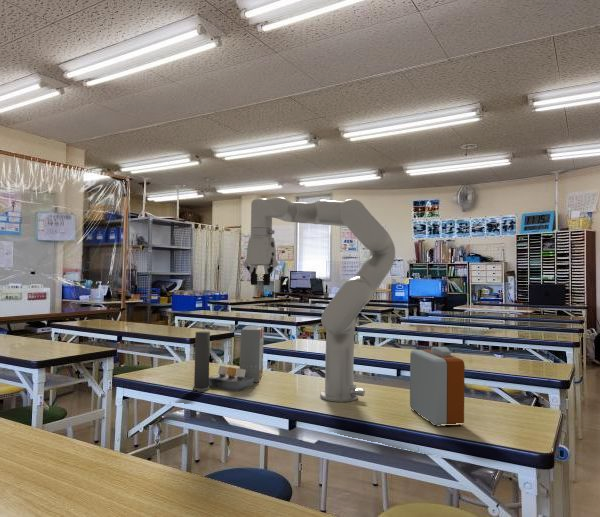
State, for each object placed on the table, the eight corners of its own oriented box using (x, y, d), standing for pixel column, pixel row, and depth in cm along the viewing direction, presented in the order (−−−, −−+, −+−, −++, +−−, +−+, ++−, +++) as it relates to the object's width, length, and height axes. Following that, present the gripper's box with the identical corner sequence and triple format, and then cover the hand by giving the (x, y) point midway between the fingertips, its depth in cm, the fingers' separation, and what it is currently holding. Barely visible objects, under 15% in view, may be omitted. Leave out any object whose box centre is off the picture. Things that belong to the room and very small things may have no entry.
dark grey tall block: (212, 388, 166) (214, 332, 166) (202, 391, 161) (203, 333, 161) (200, 386, 168) (201, 331, 169) (189, 389, 163) (191, 332, 164)
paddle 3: (226, 377, 173) (228, 367, 174) (221, 375, 170) (223, 366, 171) (222, 376, 173) (224, 367, 174) (217, 375, 171) (219, 365, 172)
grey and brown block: (465, 427, 128) (465, 352, 129) (435, 428, 127) (436, 352, 128) (435, 407, 147) (435, 342, 147) (408, 408, 145) (409, 342, 146)
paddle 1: (243, 379, 169) (245, 370, 170) (239, 378, 166) (241, 368, 167) (239, 379, 170) (241, 369, 171) (235, 378, 167) (237, 368, 168)
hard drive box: (259, 383, 175) (260, 330, 176) (238, 382, 176) (240, 329, 176) (263, 374, 191) (264, 325, 192) (244, 373, 191) (245, 325, 192)
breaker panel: (253, 386, 170) (253, 377, 170) (238, 391, 162) (239, 382, 162) (222, 381, 177) (222, 372, 177) (207, 386, 169) (207, 377, 169)
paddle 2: (235, 378, 171) (237, 368, 172) (230, 377, 168) (232, 367, 169) (231, 377, 171) (233, 368, 173) (226, 376, 169) (228, 366, 170)
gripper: (287, 234, 165) (286, 285, 164) (247, 235, 173) (246, 284, 173) (276, 232, 158) (275, 285, 158) (235, 233, 167) (234, 284, 166)
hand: (260, 284), depth 165 cm, fingers open, 4 cm apart
